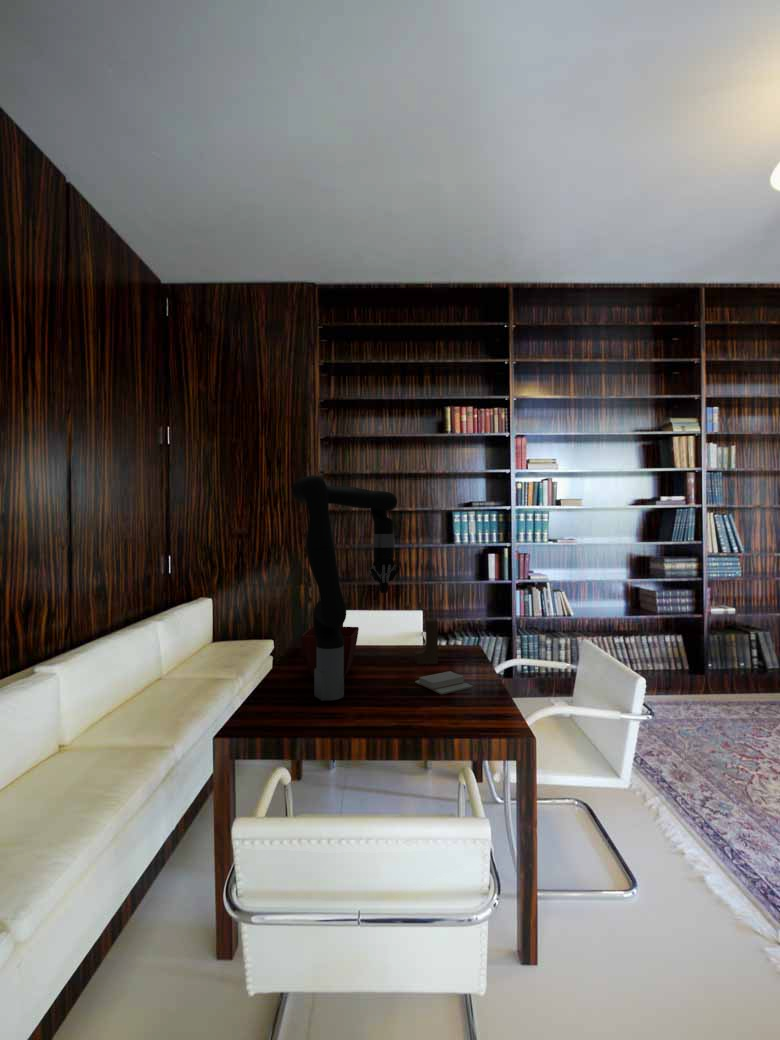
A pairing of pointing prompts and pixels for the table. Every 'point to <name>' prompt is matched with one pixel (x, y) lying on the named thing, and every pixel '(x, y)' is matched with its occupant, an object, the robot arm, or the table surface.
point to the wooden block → (429, 645)
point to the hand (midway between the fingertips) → (383, 592)
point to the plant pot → (311, 648)
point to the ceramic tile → (441, 680)
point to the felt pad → (450, 688)
